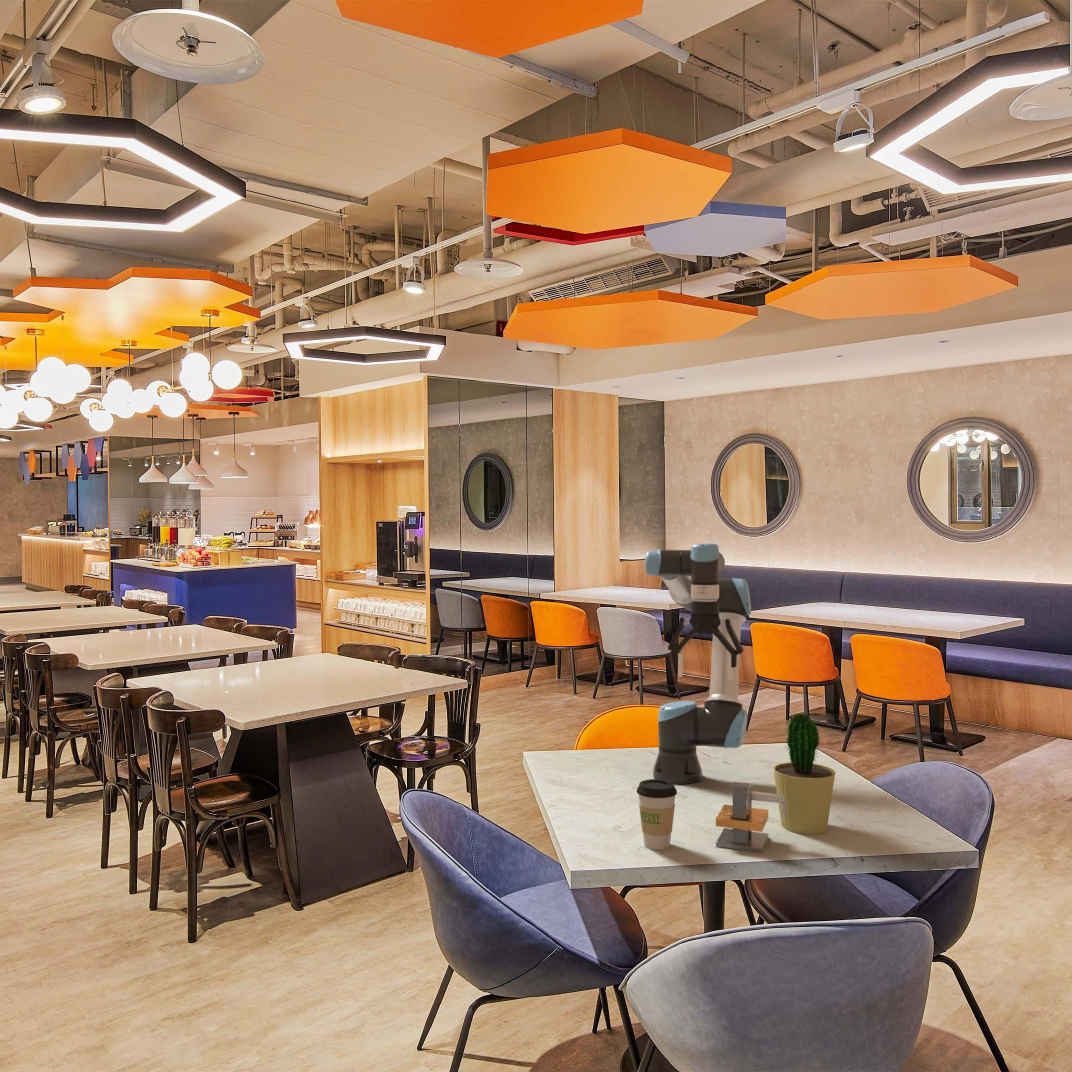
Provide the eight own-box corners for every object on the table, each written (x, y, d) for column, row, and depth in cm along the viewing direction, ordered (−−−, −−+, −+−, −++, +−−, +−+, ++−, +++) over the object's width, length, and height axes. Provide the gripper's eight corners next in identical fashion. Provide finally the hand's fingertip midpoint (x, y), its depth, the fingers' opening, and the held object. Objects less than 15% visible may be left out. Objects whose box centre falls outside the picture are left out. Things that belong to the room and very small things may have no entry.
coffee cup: (633, 838, 216) (632, 778, 216) (671, 837, 217) (671, 777, 217) (641, 853, 206) (641, 790, 206) (681, 852, 207) (681, 789, 207)
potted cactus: (827, 841, 213) (827, 720, 213) (765, 830, 221) (765, 713, 221) (841, 823, 226) (841, 709, 226) (783, 813, 234) (782, 703, 234)
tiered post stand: (715, 846, 210) (715, 793, 210) (724, 831, 220) (724, 781, 220) (781, 855, 204) (781, 800, 204) (787, 840, 214) (786, 787, 214)
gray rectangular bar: (735, 838, 213) (734, 782, 213) (748, 840, 211) (748, 783, 211) (732, 843, 210) (732, 785, 210) (746, 844, 209) (745, 787, 208)
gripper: (656, 599, 237) (657, 677, 237) (749, 602, 227) (749, 683, 227) (663, 597, 244) (664, 673, 244) (753, 600, 234) (754, 678, 234)
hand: (705, 678), depth 235 cm, fingers open, 13 cm apart
